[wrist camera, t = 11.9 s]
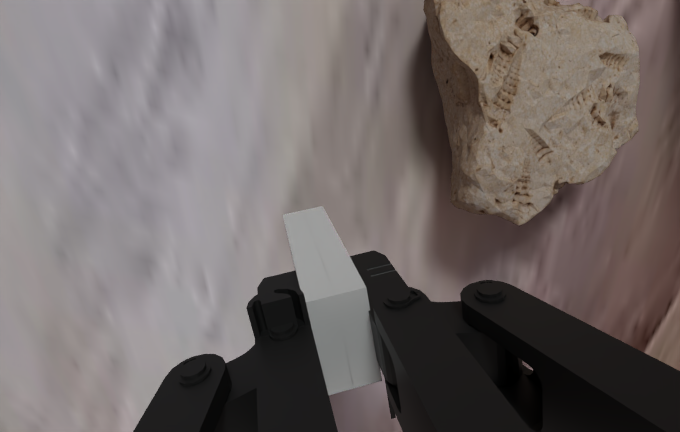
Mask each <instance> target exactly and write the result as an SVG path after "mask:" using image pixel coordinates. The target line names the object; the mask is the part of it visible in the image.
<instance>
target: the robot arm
mask: <svg viewBox="0 0 680 432" xmlns="http://www.w3.org/2000/svg"><path fill="white" fill-rule="evenodd" d="M283 218H284V223H285V227H286V232H287V236H288V240H289V245H290V249H291V254H292V258H293V262H294V267H295V271H292V272H288V273H284V274H280V275H275V276H271V277H267V278H264V279H263V280H262V282H261V283H260V285H259V286H258V295H256V296H254V297H253V298H252V299H251V300H250V301H249V303H248V306H247V311H248V315H249V319H250V322H251V326H252V329H253V333H254V337H255V345H254V346H253V347H252V348H251V349H250V350H249V351H247V352H246V353H245V354H243V355H242V356H240V357H238V358H236V359H234V360H232V361H230V362H228V363H225V361H224V360H223V358H222V357H220V356H218V355H216V354H203V355H198V356H194V357H191V358H189V359H187V360H185V361H183V362H181V363H180V364H178V365H177V366H176V367H174V368H173V369H172V370H171V371H170V372H169V373H168V375H167V376H166V377H165V379H164V380H163V382H162V384H161V385H160V387H159V389H158V391H157V392H156V394H155V396H154V397H153V399H152V401H151V402H150V404H149V406H148V408H147V409H146V411H145V413H144V414H143V416H142V418H141V419H140V421H139V423H138V425H137V426H136V428H135V430H134V431H133V432H338V431H337V427H336V423H335V419H334V415H333V411H332V407H331V403H330V399H329V395H332V394H336V393H339V392H343V391H347V390H350V389H354V388H357V387H361V386H364V385H368V384H372V383H375V382H379V381H382V378H381V372H380V368H381V370H382V373H383V375H384V377H385V383H386V389H387V395H388V402H389V408H390V414H391V419H393V418H396V416H397V419H398V421H399V423H400V426H401V428H402V430H403V432H680V371H678V370H676V369H674V368H672V367H671V366H669V365H667V364H665V363H663V362H661V361H659V360H657V359H655V358H653V357H651V356H649V355H647V354H645V353H643V352H641V351H639V350H637V349H635V348H633V347H631V346H630V345H628V344H626V343H624V342H622V341H620V340H618V339H616V338H614V337H612V336H610V335H608V334H606V333H604V332H602V331H600V330H598V329H596V328H594V327H592V326H590V325H589V324H587V323H585V322H583V321H581V320H579V319H577V318H575V317H573V316H571V315H569V314H567V313H565V312H563V311H561V310H559V309H557V308H555V307H553V306H551V305H549V304H547V303H546V302H544V301H542V300H540V299H538V298H536V297H534V296H532V295H530V294H528V293H526V292H524V291H522V290H520V289H518V288H516V287H514V286H512V285H510V284H507V283H504V282H500V281H493V280H486V281H485V280H483V281H479V282H475V283H472V284H469V285H468V286H466V287H465V288H463V290H462V292H461V293H460V294H461V301H458V302H431V301H430V300H429V299H428V297H427V296H426V295H425V294H424V293H423V292H421V291H420V290H418V289H414V288H411V287H408V286H407V285H406V283H405V282H404V281H403V279H402V278H401V277H400V275H399V274H398V272H397V271H395V268H394V267H393V266H392V264H391V263H390V261H389V260H388V259H387V257H386V256H385V255H383V254H381V253H378V252H376V251H370V252H366V253H362V254H358V255H353V256H349V254H348V252H347V250H346V249H345V247H344V245H343V243H342V241H341V239H340V238H339V236H338V234H337V232H336V230H335V228H334V226H333V225H332V223H331V221H330V219H329V217H328V215H327V214H326V212H325V210H324V208H323V206H320V207H316V208H311V209H307V210H302V211H298V212H293V213H289V214H284V215H283ZM522 360H523V361H524V362H525V363H527V364H528V365H529V366H530V367H532V368H533V371H532V370H530V369H528V368H527V367H525V366H524V365H522ZM395 414H396V416H395Z"/></svg>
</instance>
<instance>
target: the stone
mask: <svg viewBox="0 0 680 432" xmlns="http://www.w3.org/2000/svg"><path fill="white" fill-rule="evenodd" d="M424 12H425V14H426V17H427V26H428V32H429V36H430V39H431V45H432V55H431V65H432V69H433V73H434V77H435V80H436V82H437V85H438V87H439V94H440V96H441V99H442V102H443V109H444V117H445V123H446V126H447V128H448V137H449V143H450V147H451V150H452V166H453V171H452V175H451V201H450V202H451V203H452V204H453V205H454V206H455V207H457V208H458V209H464V210H466V211H468V212H472V213H476V214H490V215H497V216H499V217H502V218H504V219H506V220H509V221H510V222H512V223H513V224H517V225H518V226H520V225H522V224H524V223H526V222H528V221H529V220H530V219H532V218H533V217H534V216H535V215H537V214H538V213H539V212H541V211H542V210H543V209H544V208H545V207H547V206H548V205H549V204H550V202H551V200H552V198H553V195H555V194H556V193H558V189H559V188H562V187H563V186H564V185H565V184H566V183H567V184H577V185H579V184H584V183H586V182H589V181H591V180H593V179H595V178H596V177H598V176H600V175H601V174H602V173H603V172H604V171H605V170H606V169H607V168H608V167H609V165H610V163H611V160H612V159H613V158H614V156H615V155H616V153H617V151H616V150H615V149H617V148H620V147H621V146H622V145H624V144H625V143H627V142H628V141H630V140H631V139H632V138H633V136H634V135H635V134H636V133H637V132H638V122H637V118H636V102H637V96H638V90H639V84H640V79H639V68H640V62H639V48H638V45H637V42H636V39H635V37H634V36H633V35H632V34H631V33H630V32H629V30H628V27H627V23H626V22H625V20H624V19H623V17H622V16H618V15H608V16H607V17H606V18H605V19H604V20H602V19H601V18H600V17H599V16H598V11H597V10H595V9H593V8H591V7H587V6H582V5H581V4H580V3H577V4H573V5H560V4H559V2H556V1H555V0H425V1H424Z"/></svg>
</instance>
